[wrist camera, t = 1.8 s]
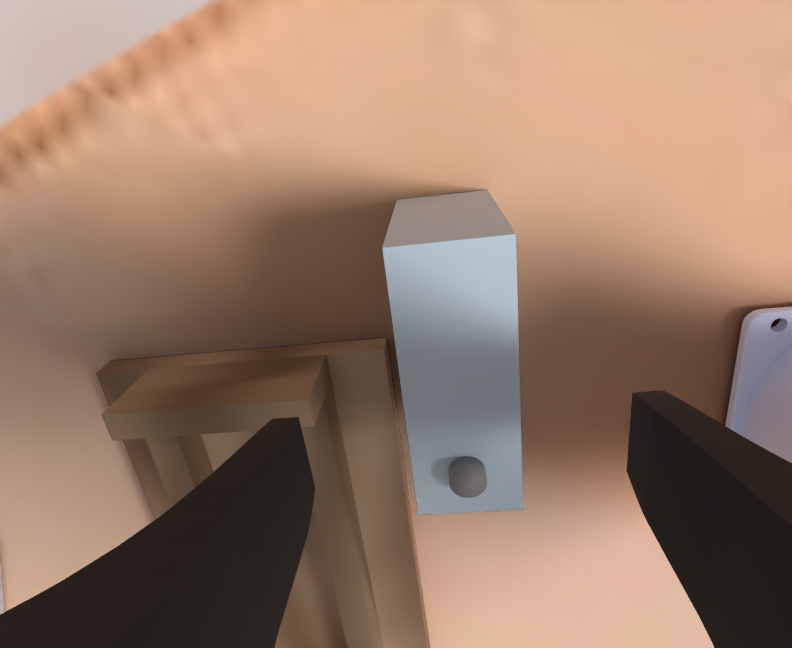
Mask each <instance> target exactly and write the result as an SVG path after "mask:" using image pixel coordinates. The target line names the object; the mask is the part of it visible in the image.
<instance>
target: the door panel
mask: <svg viewBox="0 0 792 648" xmlns="http://www.w3.org/2000/svg"><path fill="white" fill-rule="evenodd" d="M382 250H383V257H384V265H385V272H386V279H387V287H388V294H389V302H390V309H391V317H392V324H393V331H394V339H395V346H396V354H397V361H398V368H399V376H400V383H401V391H402V398H403V406H404V413H405V420H406V428H407V435H408V443H409V450H410V457H411V465H412V472H413V480H414V487H415V495H416V502H417V509H418V515H427V514H448V513H468V512H488V511H509V510H523V480H522V443H521V406H520V369H519V332H518V295H517V259H516V234H515V232H514V230H513V229H512V227H511V226H510V224H509V223H508V221H507V219H506V218H505V216H504V215H503V213H502V212H501V210H500V208H499V207H498V205H497V204H496V202H495V201H494V199H493V198H492V196H491V194H490V193H489V191H488V190H480V191H471V192H462V193H453V194H444V195H435V196H426V197H417V198H408V199H399V200H397V201H396V204H395V207H394V211H393V214H392V217H391V220H390V224H389V227H388V230H387V234H386V237H385V240H384V244H383V247H382Z"/></svg>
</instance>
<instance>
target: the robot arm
mask: <svg viewBox="0 0 792 648" xmlns="http://www.w3.org/2000/svg"><path fill="white" fill-rule="evenodd" d="M779 318H780V321H779V323H778V324H777V325H776V326H774V327H771V324H772V322H773V321H775V320H776V319H779ZM627 473H628V476H629V478H630V481H631V484H632V486H633V489H634V492H635V494H636V497H637V499H638V502H639V504H640V507H641V509H642V512H643V514H644V516H645V518H646V520H647V522H648V524H649V526H650V527H651V529H652V531H653V533H654V535H655V537H656V539H657V540H658V542H659V544H660V546H661V548H662V550H663V551H664V553H665V555H666V557H667V559H668V561H669V562H670V564H671V566H672V568H673V570H674V571H675V573H676V575H677V577H678V579H679V580H680V582H681V584H682V586H683V588H684V590H685V591H686V593H687V595H688V597H689V599H690V600H691V602H692V604H693V606H694V608H695V610H696V611H697V613H698V615H699V617H700V619H701V621H702V623H703V625H704V627H705V629H706V631H707V633H708V635H709V637H710V639H711V641H712V643H713V645H714V647H715V648H792V306H790V307H779V308H767V309H758V310H754V311H752V312H751V313H749V314H748V315H747V316H746V317H745V318H744V320H743V323H742V328H741V334H740V340H739V346H738V352H737V358H736V364H735V370H734V376H733V382H732V388H731V394H730V400H729V407H728V413H727V419H726V425H725V426H724V425H722V424H721V423H719V422H717V421H716V420H714V419H712V418H711V417H709V416H707V415H705V414H704V413H702V412H700V411H699V410H697V409H695V408H694V407H692V406H690V405H688V404H687V403H685V402H683V401H682V400H680V399H678V398H676V397H674V396H673V395H671V394H669V393H667V392H665V391H651V392H637V393H633V394H632V408H631V421H630V434H629V447H628V460H627ZM314 496H315V484H314V480H313V476H312V471H311V467H310V463H309V459H308V454H307V450H306V446H305V442H304V437H303V433H302V429H301V425H300V420H299V417H290V418H276V419H272V420H270V421H269V422H268V423H267V424H266V425H264V426H263V427H262V428H261V429H260V430H259V431H258V432H257V433H255V434H254V435H253V436H252V437H251V438H250V439H249V440H248V441H247V442H246V443H245V444H244V445H243V446H241V447H240V448H239V449H238V450H237V451H236V452H235V453H234V454H233V455H232V456H231V457H230V458H228V459H227V460H226V461H225V462H224V463H223V464H222V465H221V466H220V467H219V468H217V469H216V470H215V471H214V472H213V473H212V474H211V475H210V476H208V477H207V478H206V479H205V480H204V481H202V482H201V483H200V484H199V485H198V486H197V487H195V488H194V489H193V490H192V491H191V492H189V493H188V494H187V495H186V496H185V497H183V498H182V499H181V500H180V501H179V502H177V503H176V504H175V505H174V506H173V507H171V508H170V509H169V510H167V511H166V512H165V513H164V514H162V515H161V516H160V517H158V518H157V519H156V520H154V521H153V522H152V523H150V524H149V525H147V526H146V527H145V528H143V529H142V530H140V531H139V532H138V533H136V534H135V535H133V536H132V537H131V538H129V539H128V540H126V541H125V542H123V543H122V544H120V545H119V546H117V547H116V548H114V549H113V550H111V551H109V552H108V553H106V554H105V555H103V556H101V557H100V558H98V559H97V560H95V561H93V562H92V563H90V564H89V565H87V566H85V567H84V568H82V569H81V570H79V571H77V572H76V573H74V574H73V575H71V576H69V577H68V578H66V579H64V580H63V581H61V582H59V583H58V584H56V585H54V586H52V587H50V588H49V589H47V590H45V591H43V592H41V593H40V594H38V595H36V596H34V597H33V598H31V599H29V600H27V601H25V602H23V603H21V604H19V605H17V606H16V607H14V608H12V609H10V610H8V611H6V612H4V613H2V614H0V648H275V644H276V640H277V636H278V632H279V629H280V625H281V622H282V619H283V615H284V612H285V609H286V605H287V602H288V599H289V596H290V592H291V589H292V586H293V582H294V579H295V576H296V572H297V569H298V566H299V562H300V559H301V556H302V552H303V549H304V545H305V542H306V539H307V535H308V532H309V526H310V521H311V515H312V509H313V502H314Z"/></svg>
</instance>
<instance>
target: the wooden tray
mask: <svg viewBox="0 0 792 648" xmlns="http://www.w3.org/2000/svg"><path fill="white" fill-rule="evenodd" d="M96 374H97V377H98V379H99V382H100V384H101V387H102V389H103V392H104V394H105V397H106V399H107V401H108V404H109V406H110V407H109V408H108V409H107V410H106V411H105V412H104V413H103V414H102V417H103V419H104V422H105V424H106V426H107V429H108V431H109V434H110V436H111V438H112V440H123V441H124V443H125V446H126V448H127V451H128V453H129V456H130V458H131V461H132V463H133V465H134V468H135V470H136V473H137V475H138V478H139V480H140V483H141V485H142V488H143V490H144V493H145V495H146V497H147V500H148V502H149V505H150V507H151V510H152V512H153V515H154V517H155V520H156V519H157V518H158V517H160V516H161V515H162V514H164V513H165V512H166V511H167V510H169V509H170V508H171V507H173V506H174V505H175V504H176V503H177V502H179V501H180V500H181V499H182V498H183V497H185V496H186V495H187V494H188V493H189V492H191V491H192V490H193V489H194V488H195V487H197V486H198V485H199V484H200V483H201V482H202V481H204V480H205V479H206V478H207V477H208V476H210V475H211V474H212V473H213V472H214V471H215V470H216V469H217V468H219V467H220V466H221V465H222V464H223V463H224V462H225V461H226V460H227V459H228V458H230V457H231V456H232V455H233V454H234V453H235V452H236V451H237V450H238V449H239V448H240V447H241V446H243V445H244V444H245V443H246V442H247V441H248V440H249V439H250V438H251V437H252V436H253V435H254V434H255V433H257V432H258V431H259V430H260V429H261V428H262V427H263V426H264V425H266V424H267V423H268V422H269V421H270V420H272V419H276V418H290V417H299V420H300V425H301V429H302V433H303V437H304V442H305V446H306V450H307V454H308V459H309V463H310V467H311V471H312V476H313V480H314V484H315V496H314V502H313V509H312V515H311V521H310V526H309V532H308V535H307V539H306V542H305V545H304V549H303V552H302V556H301V559H300V562H299V566H298V569H297V572H296V576H295V579H294V582H293V586H292V589H291V592H290V596H289V599H288V602H287V605H286V609H285V612H284V615H283V619H282V622H281V625H280V629H279V632H278V636H277V640H276V644H275V648H430V643H429V636H428V629H427V622H426V615H425V608H424V601H423V594H422V587H421V580H420V573H419V566H418V559H417V552H416V545H415V537H414V530H413V523H412V516H411V509H410V502H409V495H408V488H407V481H406V474H405V467H404V460H403V453H402V446H401V439H400V432H399V425H398V418H397V411H396V404H395V397H394V390H393V383H392V375H391V368H390V361H389V354H388V347H387V340H386V338H376V339H364V340H352V341H340V342H328V343H317V344H305V345H293V346H281V347H269V348H258V349H246V350H234V351H222V352H210V353H199V354H187V355H175V356H163V357H151V358H139V359H128V360H116V361H110V362H109V363H108V364H107V365H106V366H104V367H103V368H102V369H101V370H100V371H98V372H97V373H96Z"/></svg>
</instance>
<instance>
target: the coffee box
mask: <svg viewBox="0 0 792 648" xmlns="http://www.w3.org/2000/svg"><path fill="white" fill-rule="evenodd" d="M4 612H5V610H4V598H3V584H2V572H1V561H0V614H2V613H4Z"/></svg>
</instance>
